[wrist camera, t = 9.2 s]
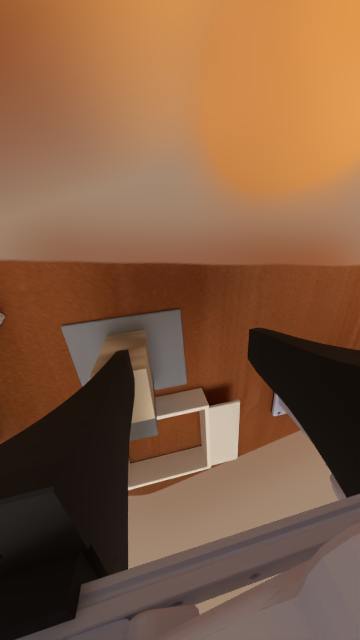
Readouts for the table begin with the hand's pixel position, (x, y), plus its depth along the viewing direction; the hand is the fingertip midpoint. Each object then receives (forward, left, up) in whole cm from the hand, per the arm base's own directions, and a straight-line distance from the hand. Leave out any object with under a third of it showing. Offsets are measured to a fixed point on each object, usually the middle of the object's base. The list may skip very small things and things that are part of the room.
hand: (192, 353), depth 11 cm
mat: (+5, +6, -10) cm, 12 cm away
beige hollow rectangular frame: (+3, +18, -10) cm, 21 cm away
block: (+5, +6, -10) cm, 12 cm away
